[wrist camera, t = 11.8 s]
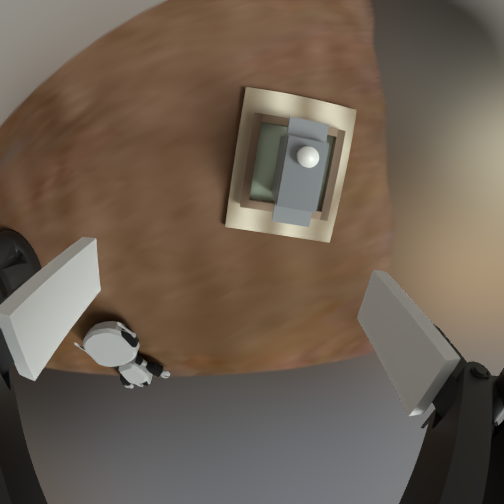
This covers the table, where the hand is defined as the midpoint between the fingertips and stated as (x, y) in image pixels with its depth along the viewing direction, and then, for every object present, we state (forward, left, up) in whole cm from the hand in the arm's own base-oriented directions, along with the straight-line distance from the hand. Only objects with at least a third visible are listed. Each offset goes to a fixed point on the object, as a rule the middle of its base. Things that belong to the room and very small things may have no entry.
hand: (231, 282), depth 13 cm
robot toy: (-17, -30, -26) cm, 43 cm away
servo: (+5, +4, -24) cm, 25 cm away
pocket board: (+5, +4, -25) cm, 26 cm away
